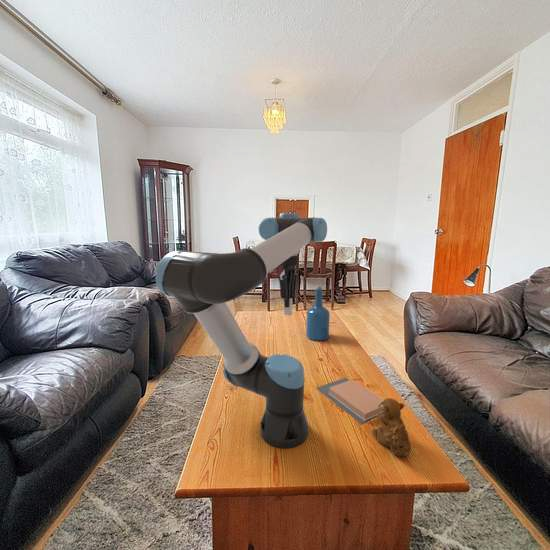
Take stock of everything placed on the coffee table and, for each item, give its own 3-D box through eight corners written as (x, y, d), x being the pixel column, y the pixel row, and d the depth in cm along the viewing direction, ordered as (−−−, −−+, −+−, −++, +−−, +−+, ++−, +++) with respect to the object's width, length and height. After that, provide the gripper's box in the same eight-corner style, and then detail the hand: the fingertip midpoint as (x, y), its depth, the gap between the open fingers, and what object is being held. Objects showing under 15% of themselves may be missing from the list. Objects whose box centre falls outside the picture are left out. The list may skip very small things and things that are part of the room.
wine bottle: (331, 341, 162) (333, 288, 157) (308, 341, 161) (309, 289, 156) (326, 332, 175) (327, 283, 170) (304, 332, 175) (305, 283, 169)
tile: (329, 387, 111) (365, 414, 96) (352, 379, 117) (389, 403, 102) (328, 393, 111) (364, 420, 96) (351, 385, 117) (389, 409, 102)
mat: (315, 388, 115) (315, 387, 115) (345, 378, 123) (345, 377, 123) (360, 424, 95) (360, 423, 95) (393, 409, 103) (393, 408, 103)
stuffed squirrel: (401, 429, 93) (404, 391, 91) (421, 465, 79) (425, 421, 77) (369, 428, 93) (372, 390, 91) (384, 464, 79) (387, 420, 77)
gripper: (290, 256, 103) (289, 320, 107) (305, 253, 114) (303, 311, 118) (271, 255, 106) (271, 317, 110) (288, 252, 117) (287, 309, 122)
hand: (288, 314), depth 114 cm, fingers closed
